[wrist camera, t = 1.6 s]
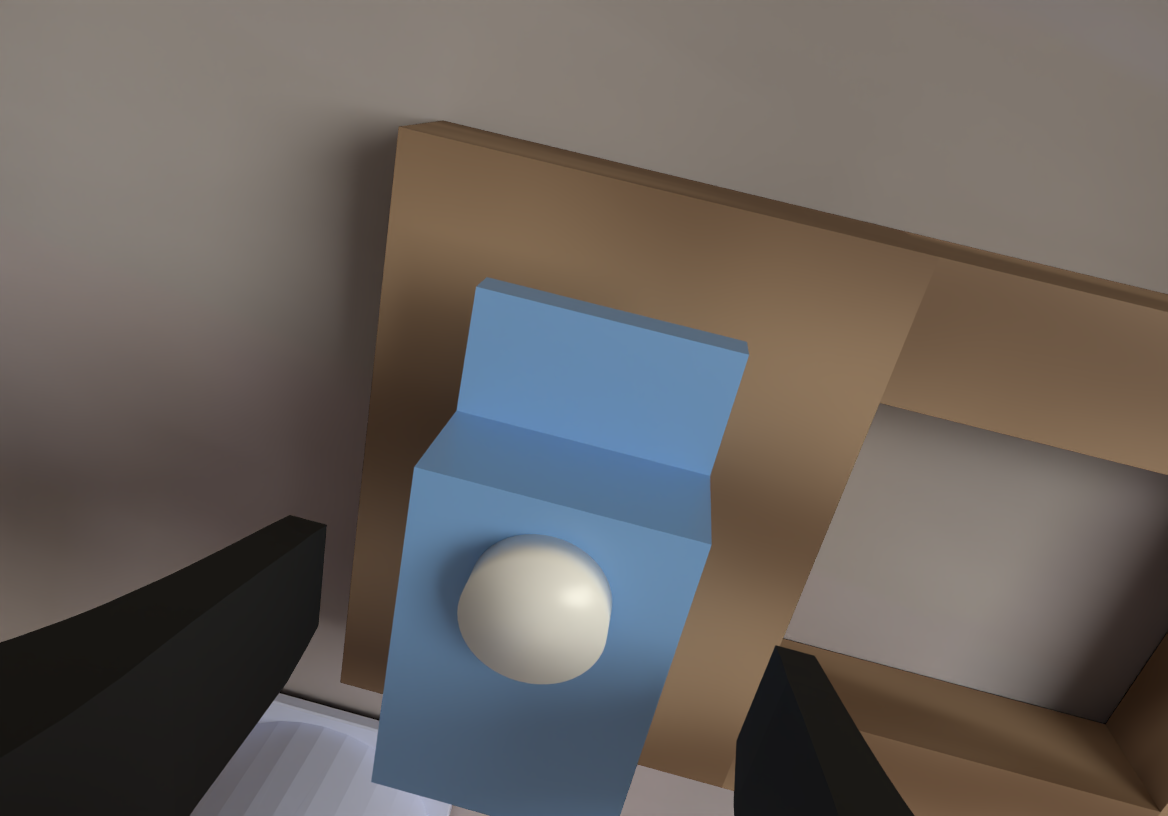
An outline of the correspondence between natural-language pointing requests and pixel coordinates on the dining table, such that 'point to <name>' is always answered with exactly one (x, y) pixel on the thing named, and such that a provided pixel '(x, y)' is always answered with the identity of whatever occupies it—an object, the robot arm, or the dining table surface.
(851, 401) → the plate
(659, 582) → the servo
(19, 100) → the dining table surface
